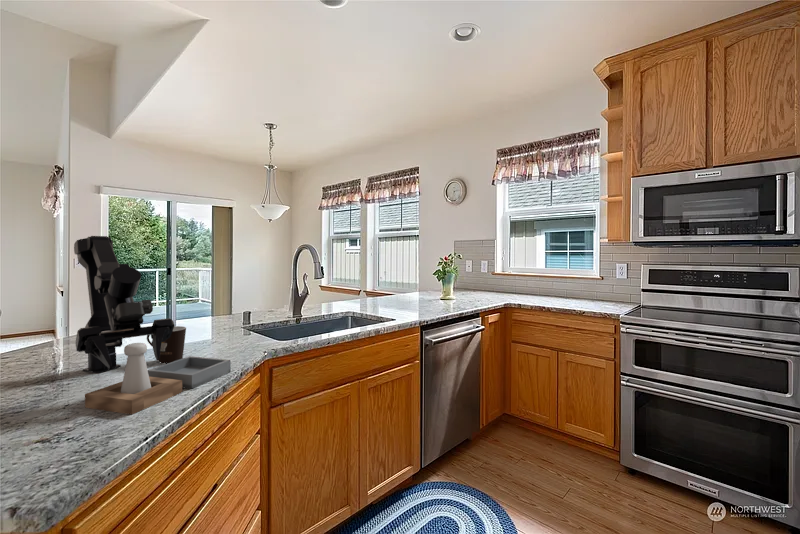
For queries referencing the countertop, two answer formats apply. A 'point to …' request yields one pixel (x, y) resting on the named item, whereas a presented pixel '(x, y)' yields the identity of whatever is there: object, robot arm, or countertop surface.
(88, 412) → the countertop surface
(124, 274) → the robot arm
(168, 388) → the socket block
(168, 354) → the coffee mug
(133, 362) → the salt shaker
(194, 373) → the tray
